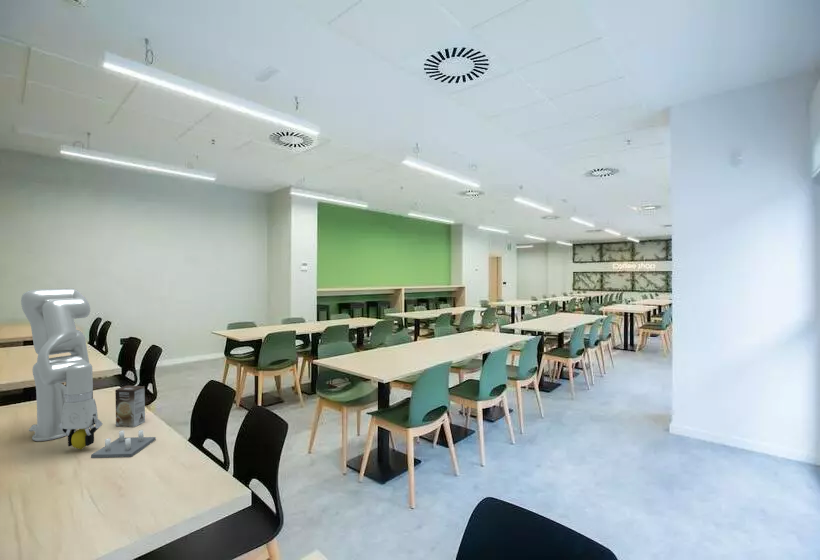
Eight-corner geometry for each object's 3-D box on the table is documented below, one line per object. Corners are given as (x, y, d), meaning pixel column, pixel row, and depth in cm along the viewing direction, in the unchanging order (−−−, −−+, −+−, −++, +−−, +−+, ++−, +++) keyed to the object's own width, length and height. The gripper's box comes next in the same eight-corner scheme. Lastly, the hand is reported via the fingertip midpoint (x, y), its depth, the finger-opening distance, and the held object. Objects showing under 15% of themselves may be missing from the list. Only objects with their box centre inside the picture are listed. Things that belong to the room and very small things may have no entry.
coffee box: (114, 426, 165) (114, 389, 165) (127, 420, 172) (126, 385, 171) (134, 427, 164) (133, 390, 164) (146, 421, 171) (145, 385, 170)
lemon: (79, 446, 147) (78, 425, 146) (94, 445, 147) (94, 425, 147) (67, 453, 141) (66, 431, 141) (83, 452, 142) (82, 431, 141)
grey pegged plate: (91, 458, 137) (90, 443, 137) (119, 440, 151) (119, 427, 151) (131, 457, 138) (131, 442, 138) (155, 439, 152) (155, 427, 152)
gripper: (47, 400, 139) (48, 449, 140) (95, 399, 140) (96, 448, 141) (64, 394, 147) (66, 440, 147) (111, 393, 148) (112, 439, 148)
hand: (81, 444), depth 144 cm, fingers closed on lemon, 5 cm apart
